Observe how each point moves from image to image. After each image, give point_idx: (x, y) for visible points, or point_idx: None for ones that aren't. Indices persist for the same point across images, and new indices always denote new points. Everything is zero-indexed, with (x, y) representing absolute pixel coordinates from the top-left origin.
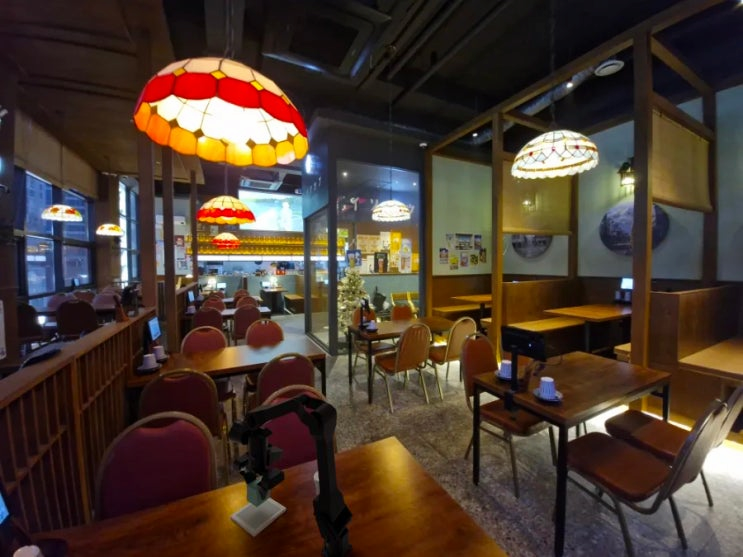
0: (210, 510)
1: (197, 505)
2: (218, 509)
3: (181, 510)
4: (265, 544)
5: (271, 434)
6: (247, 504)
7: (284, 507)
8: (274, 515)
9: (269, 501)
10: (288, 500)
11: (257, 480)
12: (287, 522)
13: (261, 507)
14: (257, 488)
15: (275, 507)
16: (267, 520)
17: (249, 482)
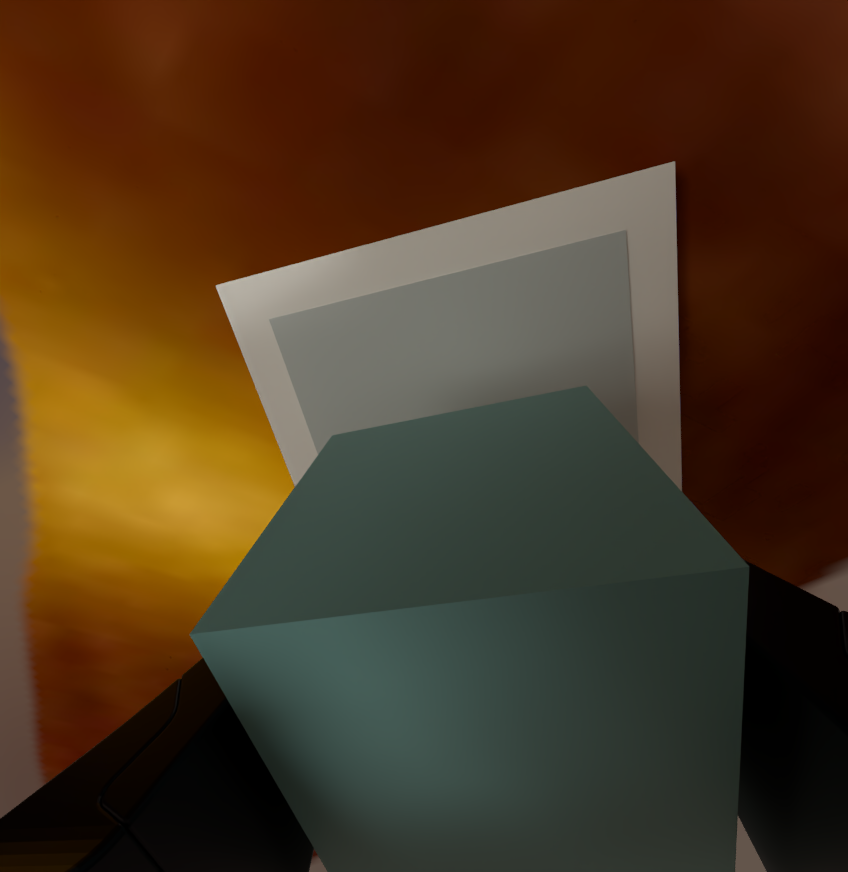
0: (181, 647)
1: (87, 678)
2: (200, 614)
3: (92, 737)
4: (829, 526)
5: None
6: (298, 474)
7: (645, 174)
8: (652, 340)
9: (410, 286)
10: (527, 35)
11: (337, 741)
12: (829, 252)
13: (436, 396)
14: (655, 856)
15: (557, 275)
16: (650, 427)
17: (293, 853)
